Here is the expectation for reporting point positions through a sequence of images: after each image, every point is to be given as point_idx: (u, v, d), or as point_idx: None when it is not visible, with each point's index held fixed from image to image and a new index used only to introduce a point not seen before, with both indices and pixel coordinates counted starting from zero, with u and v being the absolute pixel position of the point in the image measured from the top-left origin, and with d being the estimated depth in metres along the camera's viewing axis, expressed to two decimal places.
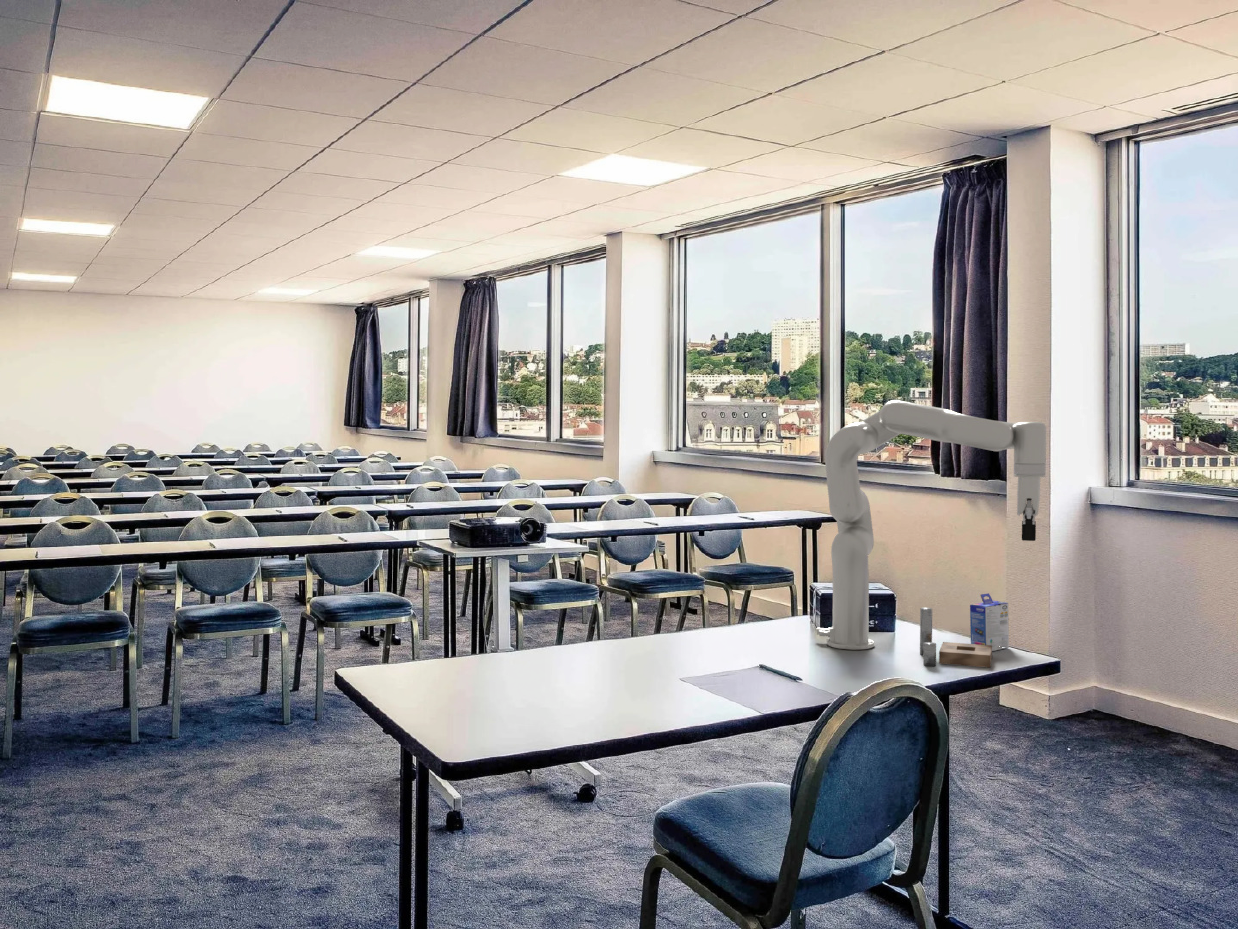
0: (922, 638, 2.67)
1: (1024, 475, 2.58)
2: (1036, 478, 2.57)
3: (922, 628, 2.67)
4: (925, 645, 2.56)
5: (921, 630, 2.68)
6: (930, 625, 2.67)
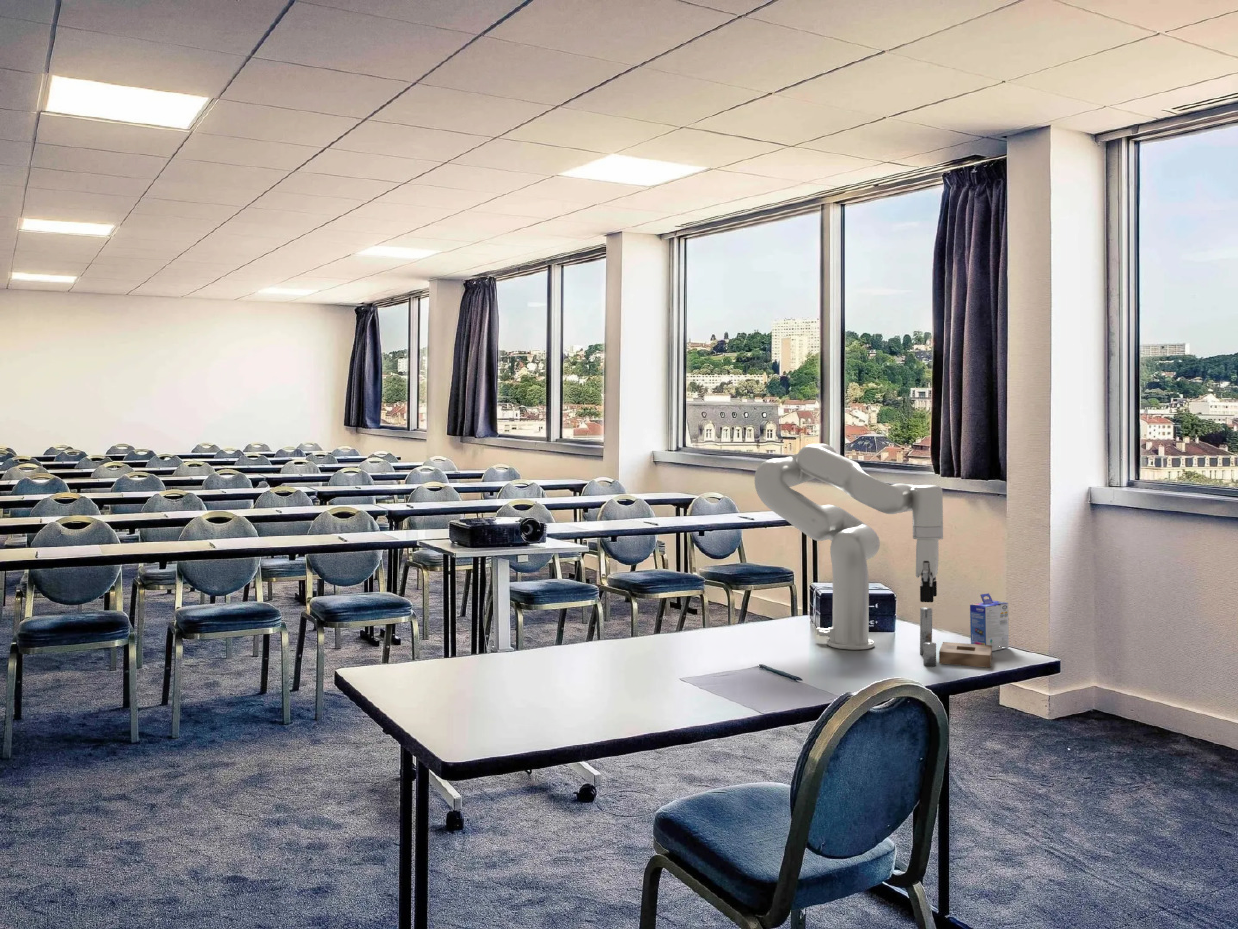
0: (922, 638, 2.67)
1: (921, 538, 2.64)
2: (933, 541, 2.63)
3: (922, 628, 2.67)
4: (925, 645, 2.56)
5: (920, 630, 2.68)
6: (930, 625, 2.67)
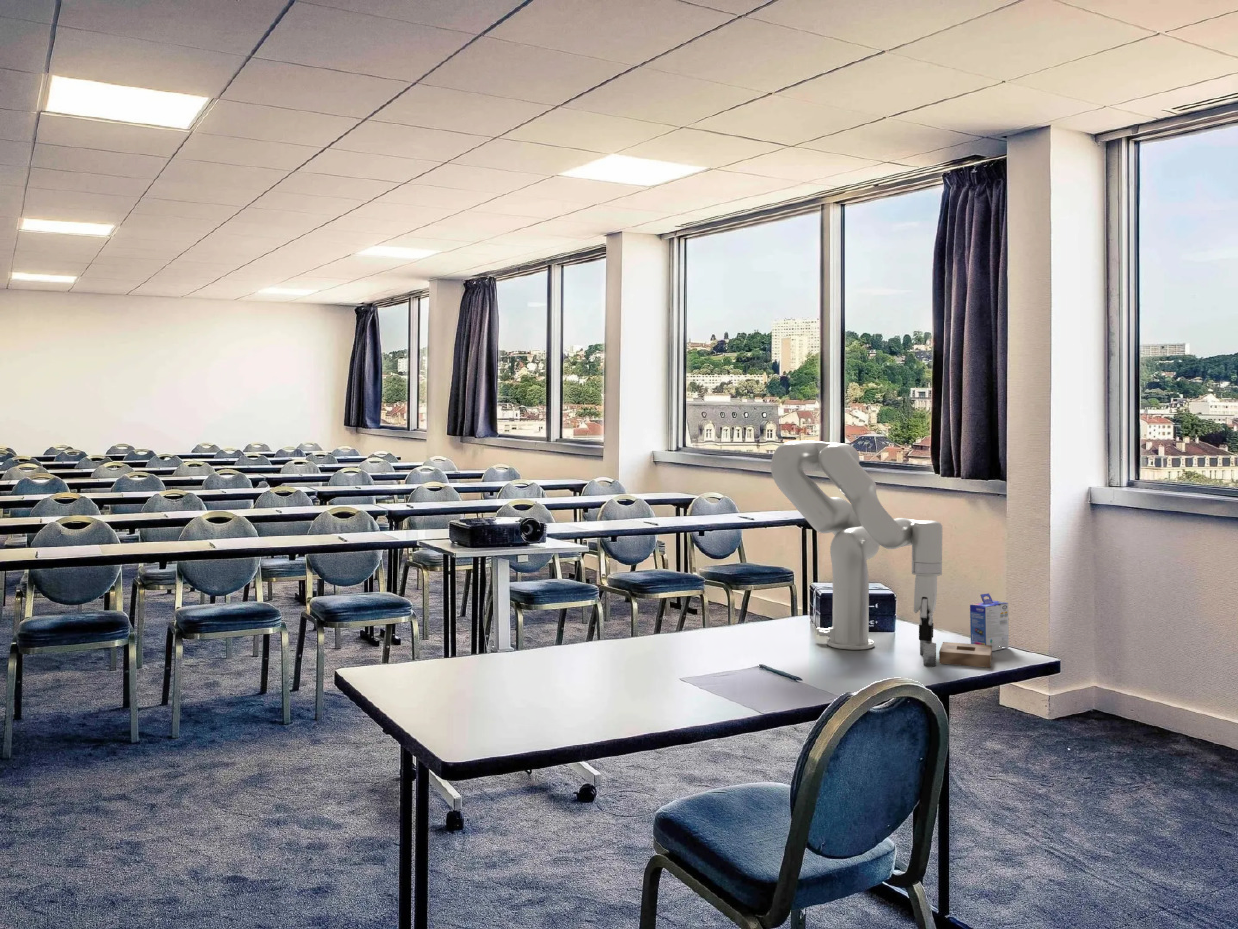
0: None
1: (920, 574, 2.65)
2: (931, 577, 2.63)
3: None
4: (925, 645, 2.56)
5: None
6: None
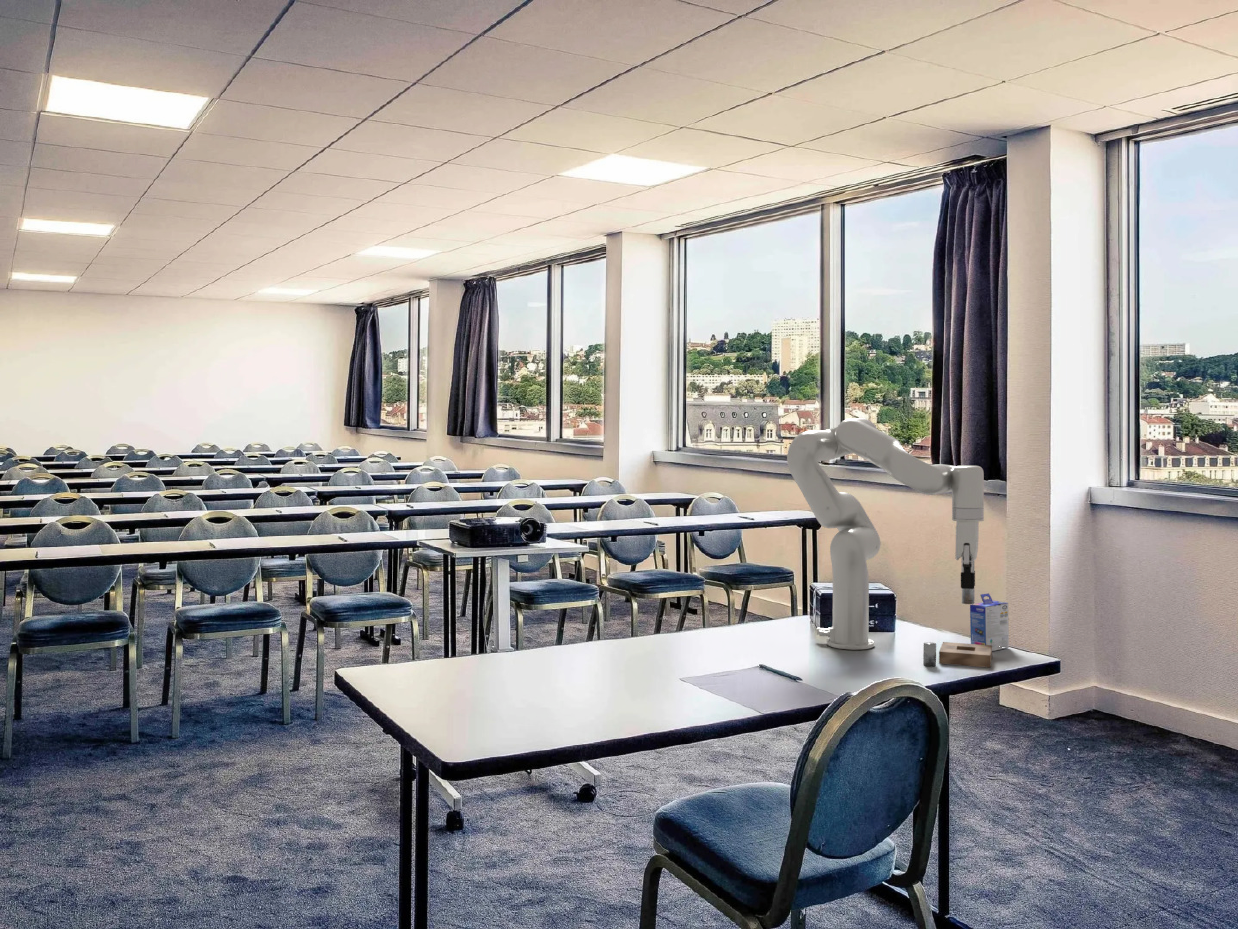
0: None
1: (962, 519, 2.57)
2: (973, 522, 2.56)
3: None
4: (925, 645, 2.56)
5: None
6: None
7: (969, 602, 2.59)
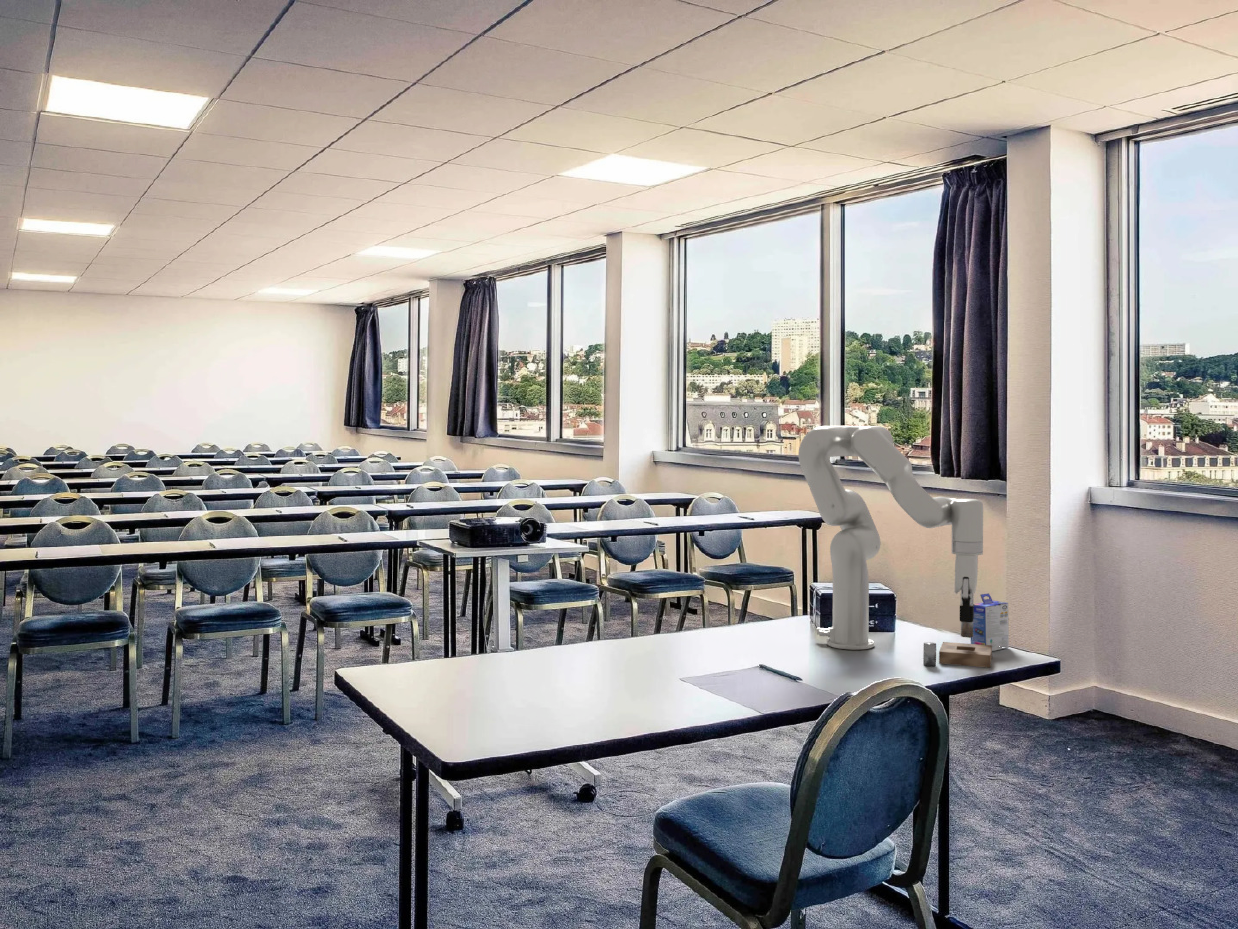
0: None
1: (961, 553, 2.58)
2: (973, 556, 2.56)
3: None
4: (925, 645, 2.56)
5: None
6: None
7: (968, 635, 2.60)
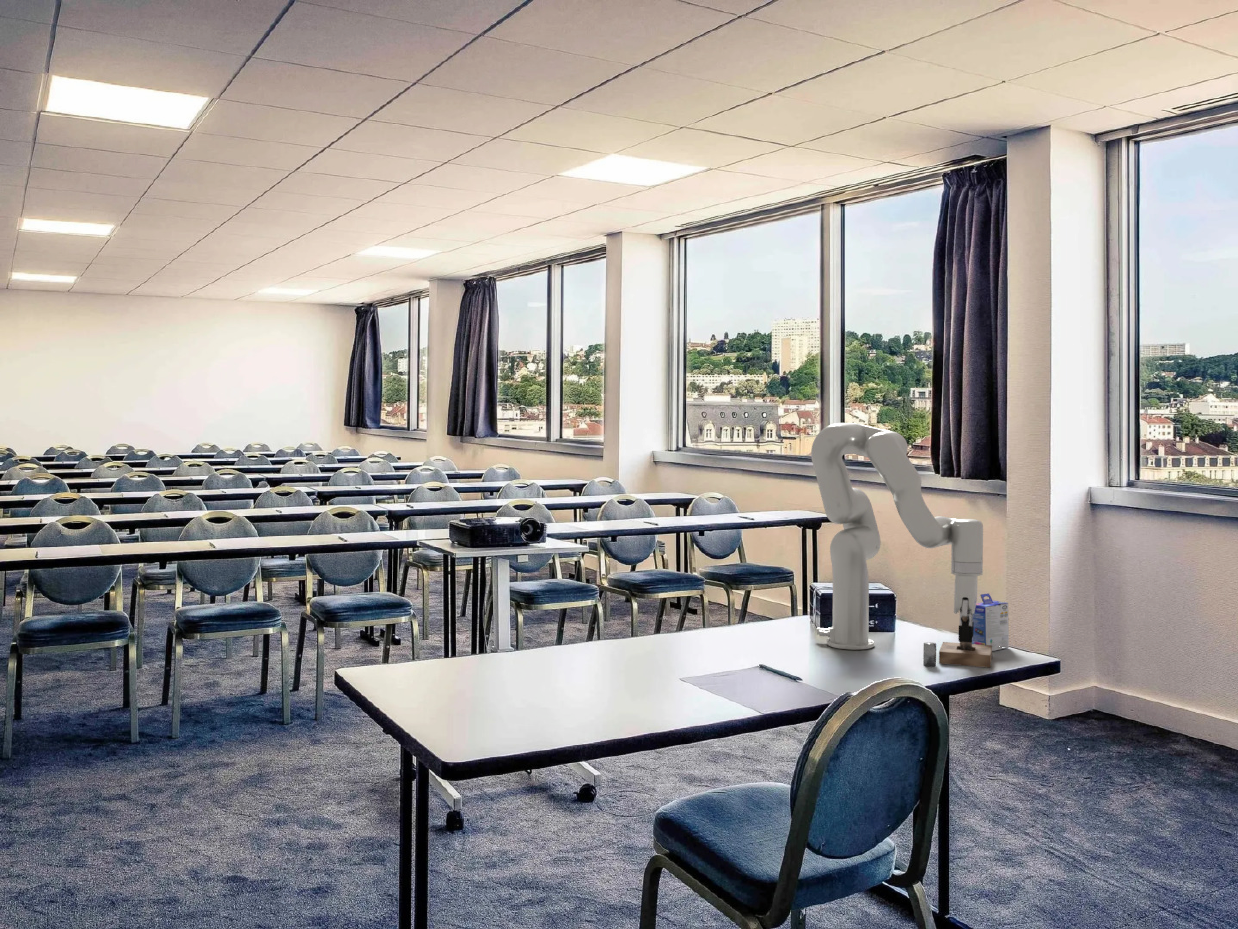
0: (962, 644, 2.61)
1: (961, 573, 2.58)
2: (972, 577, 2.57)
3: None
4: (925, 645, 2.56)
5: None
6: None
7: None
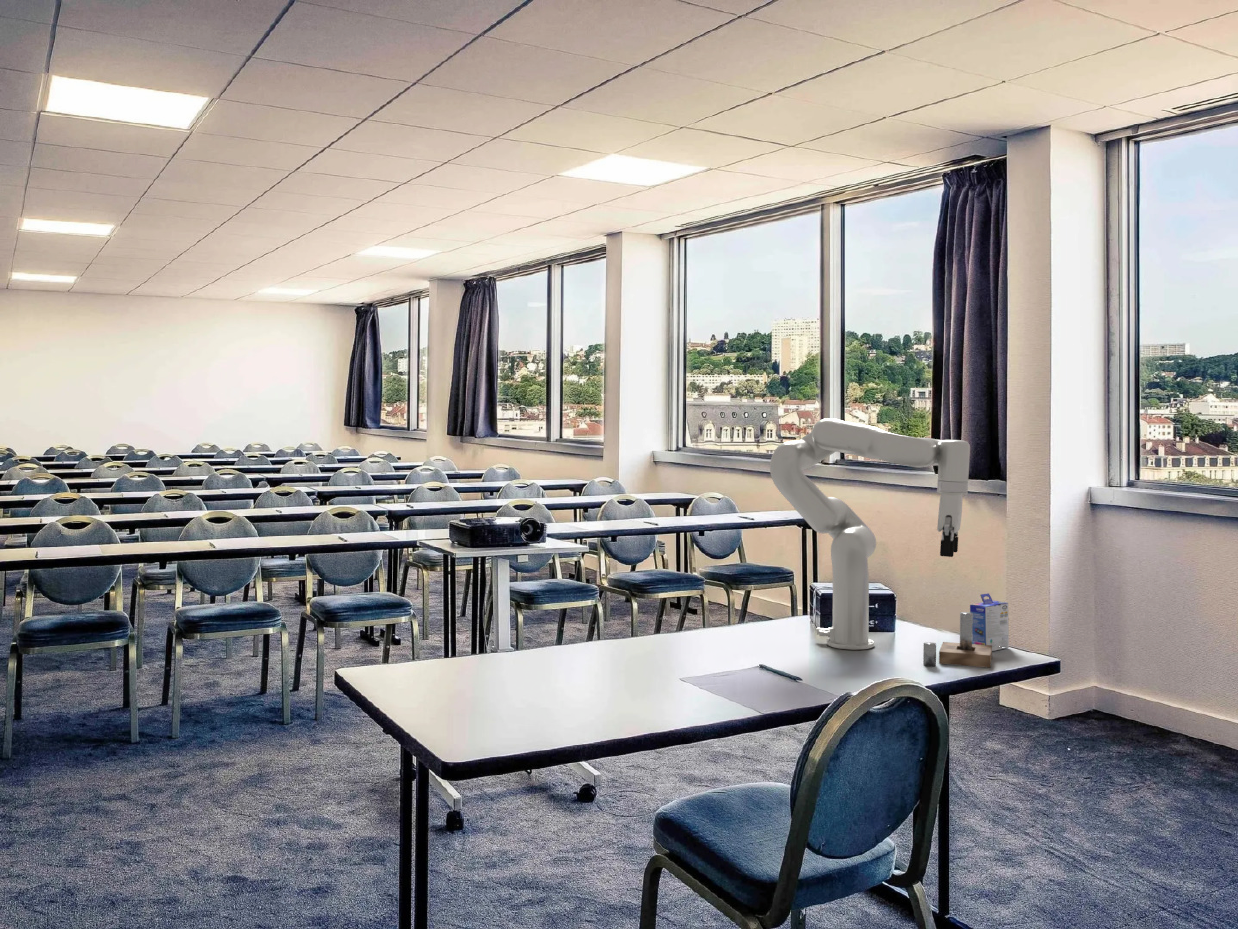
0: (962, 644, 2.61)
1: (945, 492, 2.63)
2: (956, 496, 2.62)
3: (962, 633, 2.61)
4: (925, 645, 2.56)
5: (960, 635, 2.61)
6: (970, 630, 2.60)
7: None
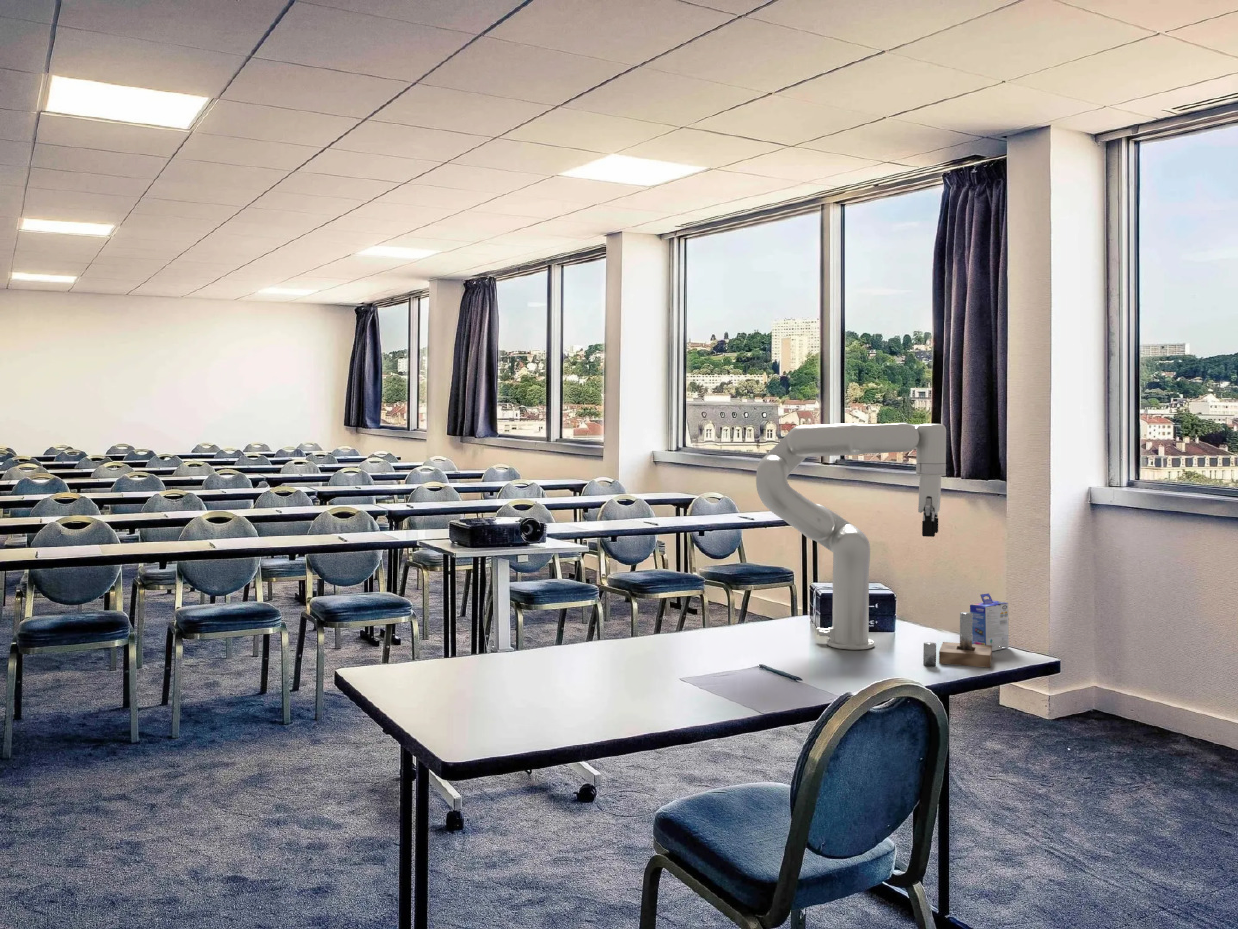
0: (962, 644, 2.61)
1: (925, 474, 2.72)
2: (935, 477, 2.70)
3: (962, 633, 2.61)
4: (925, 645, 2.56)
5: (960, 635, 2.61)
6: (970, 630, 2.60)
7: None
